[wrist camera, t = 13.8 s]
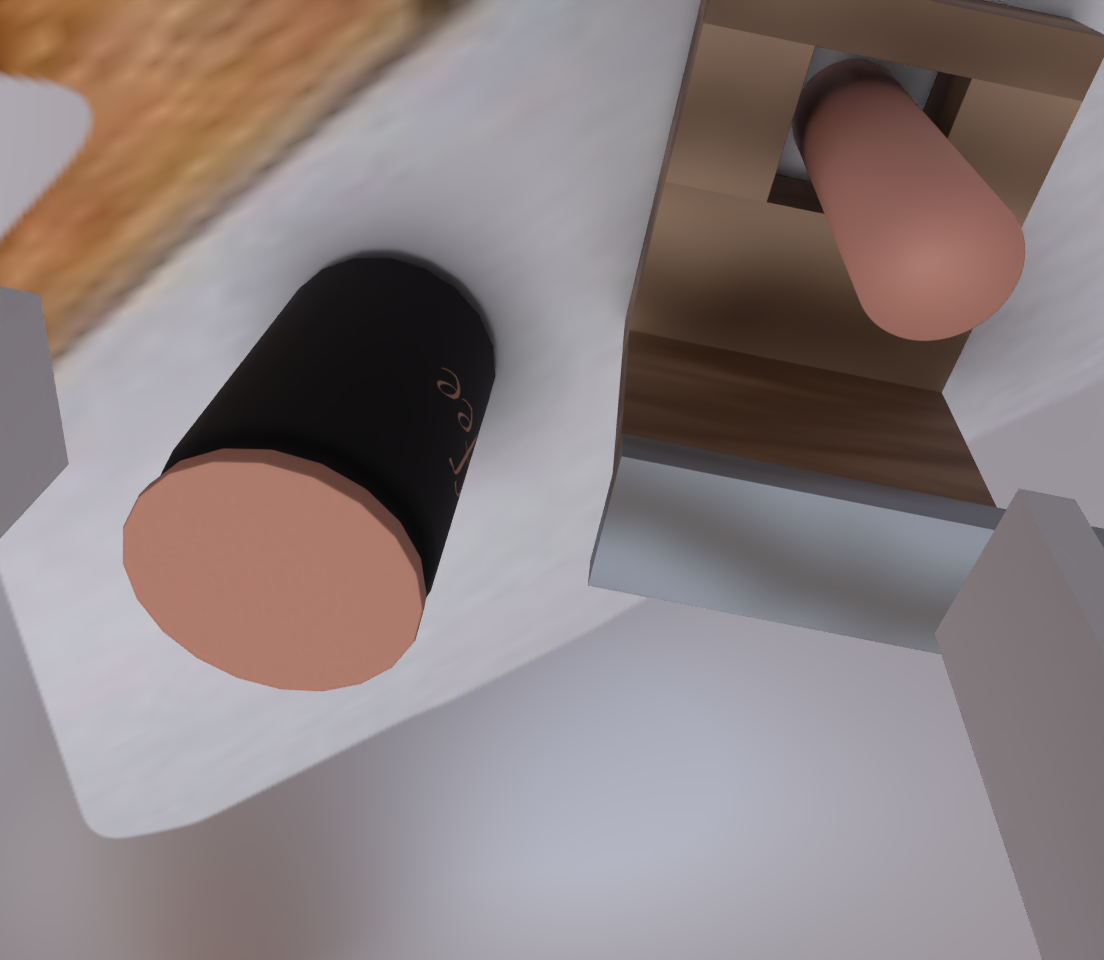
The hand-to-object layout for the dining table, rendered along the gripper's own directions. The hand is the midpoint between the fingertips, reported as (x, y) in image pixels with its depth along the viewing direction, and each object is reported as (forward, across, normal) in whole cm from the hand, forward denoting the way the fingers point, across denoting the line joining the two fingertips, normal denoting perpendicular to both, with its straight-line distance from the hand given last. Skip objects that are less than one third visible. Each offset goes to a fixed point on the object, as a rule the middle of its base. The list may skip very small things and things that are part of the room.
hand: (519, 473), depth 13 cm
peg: (+31, +10, -1) cm, 32 cm away
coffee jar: (+31, -8, -16) cm, 36 cm away
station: (+31, +10, -4) cm, 33 cm away
